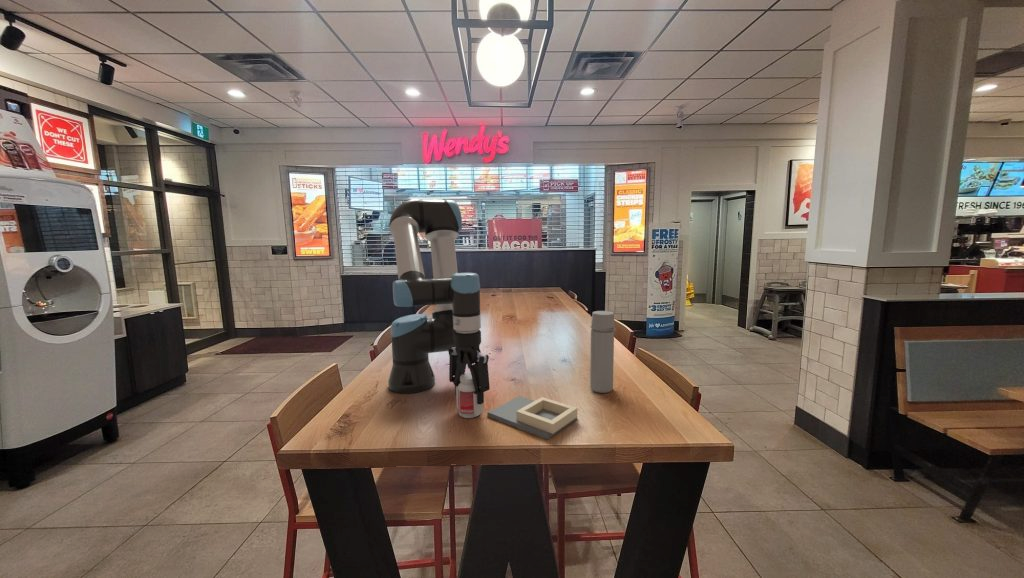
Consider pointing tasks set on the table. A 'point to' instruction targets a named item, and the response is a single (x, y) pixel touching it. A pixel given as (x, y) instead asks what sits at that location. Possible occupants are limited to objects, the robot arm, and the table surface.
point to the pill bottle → (466, 396)
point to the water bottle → (602, 351)
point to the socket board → (535, 415)
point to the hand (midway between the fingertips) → (469, 410)
